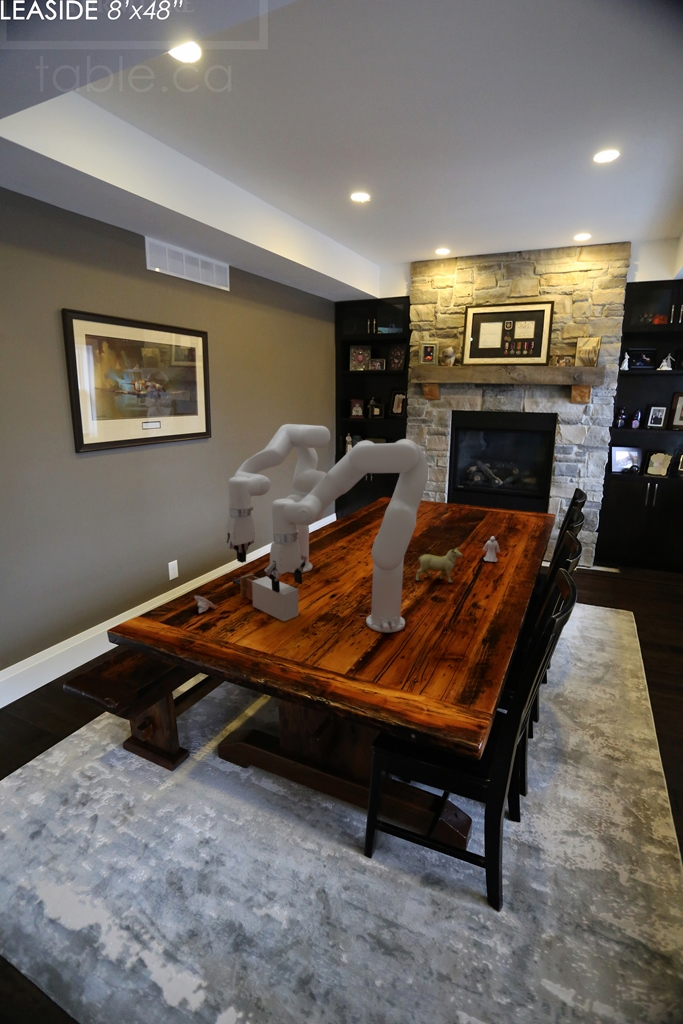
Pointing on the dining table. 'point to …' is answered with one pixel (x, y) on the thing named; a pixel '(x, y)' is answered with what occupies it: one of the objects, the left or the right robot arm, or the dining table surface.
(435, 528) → the dining table surface
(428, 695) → the dining table surface
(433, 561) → the toy
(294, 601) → the cabinet
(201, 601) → the seashell
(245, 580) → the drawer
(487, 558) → the figurine
